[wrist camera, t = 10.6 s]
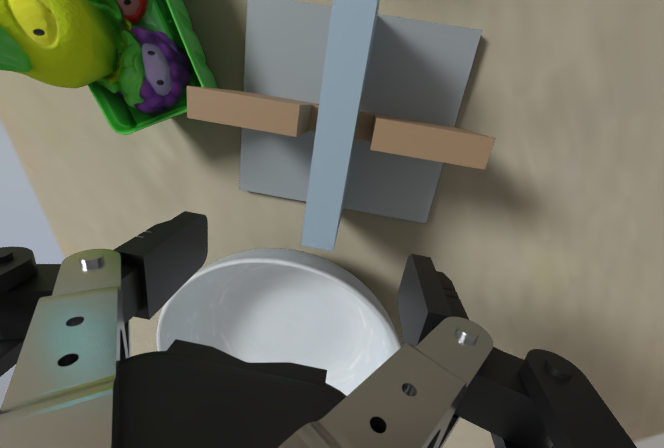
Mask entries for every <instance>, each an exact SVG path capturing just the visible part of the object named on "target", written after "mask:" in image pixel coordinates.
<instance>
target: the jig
mask: <svg viewBox="0 0 664 448" xmlns="http://www.w3.org/2000/svg"><path fill="white" fill-rule="evenodd" d="M331 11H332V7H330V6H324V5H318V4H311V3H305V2H298V1H292V0H247V20H246V43H245V66H244V88H243V91H237V90H227V89H216V88H205V87H195V86H187V118H191V119H197V120H202V121H208V122H214V123H220V124H225V125H231V126H237V127H242V134H241V157H240V180H239V190H245V191H250V192H256V193H261V194H267V195H272V196H278V197H283V198H289V199H294V200H300V201H305V202H306V201H307V194H308V186H309V178H310V171H311V163H312V155H313V148H314V140H315V133H316V125H317V117H318V110H319V102H320V94H321V87H322V79H323V72H324V64H325V56H326V49H327V41H328V34H329V26H330V18H331ZM481 33H482V30H477V29H471V28H464V27H458V26H452V25H445V24H439V23H433V22H426V21H420V20H413V19H407V18H401V17H394V16H388V15H381V14H378V16H377V21H376V27H375V33H374V38H373V44H372V49H371V55H370V60H369V66H368V72H367V77H366V83H365V88H364V94H363V98H362V99H361V105H360V111H359V116H358V122H357V127H356V133H355V139H354V144H353V147H354V150H353V155H352V161H351V166H350V172H349V177H348V183H347V189H346V194H345V200H344V205H343V209H349V210H354V211H360V212H365V213H371V214H376V215H382V216H387V217H393V218H398V219H404V220H409V221H415V222H420V223H425V224H426V221H427V218H428V214H429V211H430V208H431V204H432V201H433V197H434V194H435V191H436V187H437V184H438V180H439V177H440V173H441V170H442V167H443V163H449V164H455V165H460V166H466V167H472V168H478V169H483V170H485V168H486V165H487V162H488V159H489V156H490V153H491V151H492V148H493V145H494V142H495V139H496V138H493V137H489V136H485V135H482V134H478V133H475V132H471V131H467V130H464V129H460V128H457V127H454V125H455V122H456V119H457V115H458V112H459V108H460V105H461V101H462V98H463V95H464V91H465V88H466V84H467V81H468V77H469V74H470V71H471V67H472V64H473V60H474V57H475V53H476V50H477V47H478V43H479V40H480V36H481Z"/></svg>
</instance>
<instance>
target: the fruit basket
mask: <svg viewBox="0 0 664 448" xmlns="http://www.w3.org/2000/svg"><path fill="white" fill-rule="evenodd" d="M206 64H207V63H206V57H205V54H204V52H203V49H202V47H201V44H200V42H199V39H198V37H197V36H196V34H195V33H194V31H192V24H191V20H190V17H189V15H188V12H187V10H186V7H185V5H184V2H183V0H0V70H6V71H13V72H17V73H21V74H24V75H27V76H29V77H31V78H34V79H36V80H39V81H41V82H44V83H46V84H50V85H54V86H58V87H65V88H79V87H83V86H86V85H88V86H89V88H90V90H91V92H92V94H93V96H94V98H95V99H96V101H97V103H98V105H99V107H100V109H101V110H102V112H103V114H104V116H105V118H106V120H107V121H108V123H109V125H110V126H111V128H112V129H113V130H114V131H115V132H117V133H119V134H123V135H127V134H131V133H133V132H136V131H138V130H141V129H143V128H146V127H148V126H151V125H154V124H156V123H159V122H161V121H164V120H167V119H169V118H172V117H175V116H177V115H180V114H183V113H186V112H187V86H195V87H205V88H216V89H218V87H217V84H216V82H215V79H214V77H213V74H212V72H211V71H210V69H209V68H208V67H207V66H206Z"/></svg>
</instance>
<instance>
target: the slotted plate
mask: <svg viewBox="0 0 664 448" xmlns="http://www.w3.org/2000/svg"><path fill="white" fill-rule="evenodd" d="M378 8H379V0H333V3H332V11H331V18H330V26H329V34H328V41H327V49H326V56H325V64H324V72H323V79H322V87H321V94H320V102H319V110H318V117H317V125H316V133H315V140H314V148H313V155H312V163H311V171H310V178H309V186H308V194H307V201H306V209H305V216H304V224H303V232H302V239H301V245H302V246H308V247H313V248H318V249H324V250H329V251H333V250H334V246H335V241H336V237H337V232H338V228H339V224H340V219H341V215H342V210H343V205H344V200H345V194H346V189H347V183H348V177H349V172H350V166H351V161H352V155H353V150H354V147H353V144H354V139H355V133H356V127H357V122H358V116H359V111H360V105H361V99H362V98H363V94H364V88H365V83H366V77H367V72H368V66H369V60H370V55H371V49H372V44H373V38H374V33H375V27H376V21H377V16H378Z"/></svg>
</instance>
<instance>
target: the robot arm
mask: <svg viewBox="0 0 664 448" xmlns="http://www.w3.org/2000/svg"><path fill="white" fill-rule="evenodd" d="M207 252H208V223H207V217H206V216H205V215H202V214H197V213H192V212H186V211H185V212H183V213H181V214H180V215H178V216H176V217H175V218H173V219H172V220H170V221H166V222H163V223H160V224H156V225H154V226H153V227H151V228H149V229H148V230H146V232H143V233H141V234H139V235H138V237H134V238H133V239H131V240H129V241H128V242H126V243H124V244H123V245H121V246H119V247H118V248H116V249H114V250H109V249H92V250H86V251H82V252H78V253H75V254H73V255H71V256H69V257H67V258H66V259H64V260H63V262H62V264H36V262H35V258H34V254H33V252H32V250H30V249H28V248H24V247H2V248H0V376H1V375H3V374H4V373H5V372H7V371H8V370H9V369H10V368H12V367H13V366H14V365H15V364H16V367H15V369H14V372H13V375H12V378H11V381H10V384H9V387H8V390H7V393H6V395H5V399H4V401H3V404H2V407H1V408H0V448H442V447H443V445H444V444H445V442H446V440H447V439H448V437H449V435H450V434H451V432H452V430H453V429H454V427H455V426H456V424H457V422H458V421H459V419H460V417H461V418H463V419H465V420H467V421H469V422H471V423H473V424H475V425H477V426H479V427H481V428H483V429H485V430H487V431H489V432H491V436H492V439H493V442H494V446H495V448H637V447H636V446H635V444H634V443H633V442H632V440H631V439H630V437H629V436H628V435H627V433H626V432H625V430H624V429H623V428H622V426H621V425H620V424H619V422H618V421H617V419H616V418H615V417H614V415H613V414H612V412H611V411H610V410H609V408H608V407H607V405H606V404H605V403H604V401H603V400H602V398H601V397H600V396H599V394H598V393H597V391H596V390H595V389H594V387H593V386H592V385H591V383H590V382H589V380H588V379H587V378H586V376H585V375H584V374H583V373H582V372H581V371H580V370H579V369H578V368H577V367H576V366H575V365H573V364H572V363H571V362H569V361H568V360H566V359H565V358H563V357H561V356H559V355H557V354H555V353H552V352H549V351H546V350H541V349H534V350H531V351H529V352H528V354H527V356H526V358H525V359H524V360H523V359H520V358H518V357H515V356H513V355H510V354H508V353H505V352H503V351H501V350H499V349H497V348H495V347H493V340H492V338H491V336H490V335H489V334H488V332H487V331H486V330H484V329H483V328H482V327H481V326H479V325H478V324H476V323H474V322H472V321H470V320H469V319H468V316H467V314H466V312H465V310H464V308H463V305H462V303H461V301H460V299H459V297H458V294H457V292H455V288H454V286H453V283H452V281H451V280H450V279H449V278H448V277H447V276H446V275H445V274H443V273H442V272H437V271H436V270H435V268H434V265H433V263H432V260H431V258H430V257H425V256H420V255H415V254H410V255H409V257H408V260H407V263H406V266H405V270H404V273H403V277H402V280H401V284H400V288H399V292H398V310H399V317H400V324H401V330H402V337H403V344H404V345H403V346H402V347H401V348H400V349H399V350H398V351H397V352H395V353H394V354H393V355H392V356H391V357H390V358H389V359H388V360H387V361H385V362H384V363H383V364H382V365H381V366H380V367H379V368H378V369H377V370H375V371H374V372H373V373H372V374H371V375H370V376H369V377H368V378H367V379H365V380H364V381H363V382H362V383H361V384H360V385H359V386H358V387H357V388H355V389H354V390H353V391H352V392H351V393H350V394H349V395H348V396H346V395H345V394H344V393H342V392H341V391H340V390H338V389H336V388H335V387H333V386H331V385H329V384H327V383H325V382H326V376H327V370H325V369H320V368H315V367H310V366H305V365H301V364H296V363H291V362H267V363H249V362H245V361H242V360H240V359H238V358H236V357H234V356H231V355H229V354H227V353H225V352H223V351H221V350H219V349H217V348H214V347H212V346H207V345H202V344H197V343H192V342H188V341H183V340H178V339H175V341H174V342H173V343H172V344H171V346H170V347H169V348H168V349H167V351H156V352H149V353H143V354H139V355H135V356H132V357H131V351H130V325H129V320H130V319H131V318H132V317H133V316H134V317H139V318H144V319H149V320H150V318H151V317H152V316H153V315H154V314H155V313H156V312H157V311H158V310H159V309H160V308H161V307H162V306H163V305H164V304H165V303H166V302H167V301H168V300H169V299H170V298H171V297H172V296H173V295H174V294H175V293H176V292H177V291H178V290H179V289H180V288H181V287H182V286H183V285H184V284H185V283H186V282H187V281H188V280H189V279H190V278H191V277H192V276H193V275H194V274H195V273H196V272H197V271H198V270H199V269H200V268H201V267H202V266H203V264H204V262H205V260H206V257H207Z"/></svg>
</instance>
